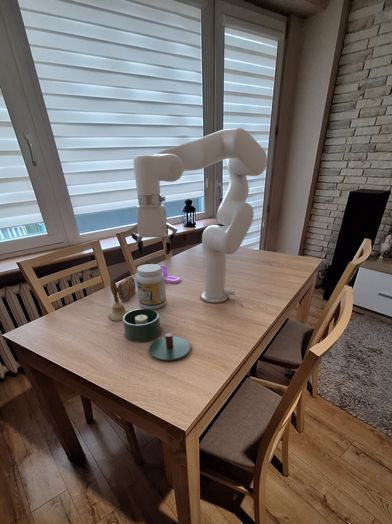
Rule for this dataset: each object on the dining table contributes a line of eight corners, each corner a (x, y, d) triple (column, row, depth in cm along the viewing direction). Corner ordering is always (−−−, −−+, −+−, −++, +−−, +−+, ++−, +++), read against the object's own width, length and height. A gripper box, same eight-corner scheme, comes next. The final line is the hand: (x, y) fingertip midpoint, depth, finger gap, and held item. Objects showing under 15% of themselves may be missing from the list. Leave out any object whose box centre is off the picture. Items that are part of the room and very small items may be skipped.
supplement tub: (134, 307, 123) (128, 270, 113) (147, 297, 132) (143, 262, 123) (159, 311, 120) (155, 273, 110) (170, 300, 129) (167, 264, 119)
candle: (150, 328, 107) (148, 312, 103) (147, 334, 103) (145, 318, 99) (138, 328, 107) (136, 312, 103) (135, 334, 103) (133, 318, 100)
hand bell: (120, 322, 112) (112, 285, 103) (105, 317, 116) (97, 281, 107) (134, 314, 118) (128, 278, 109) (120, 310, 122) (113, 275, 112)
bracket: (156, 280, 151) (155, 267, 147) (161, 276, 155) (160, 264, 151) (176, 283, 146) (175, 270, 142) (181, 280, 150) (181, 267, 146)
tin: (124, 303, 127) (121, 286, 122) (118, 303, 128) (114, 285, 123) (136, 290, 139) (134, 274, 134) (131, 290, 140) (128, 274, 135)
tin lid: (186, 336, 102) (186, 322, 99) (193, 359, 91) (193, 343, 88) (148, 341, 100) (146, 327, 97) (151, 364, 89) (148, 349, 85)
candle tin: (159, 322, 112) (157, 306, 108) (162, 339, 101) (160, 322, 97) (126, 326, 110) (123, 310, 106) (125, 344, 99) (122, 327, 95)
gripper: (176, 198, 93) (179, 250, 103) (127, 199, 95) (134, 250, 104) (174, 201, 87) (177, 256, 97) (120, 202, 88) (129, 256, 98)
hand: (155, 253), depth 101 cm, fingers open, 9 cm apart
